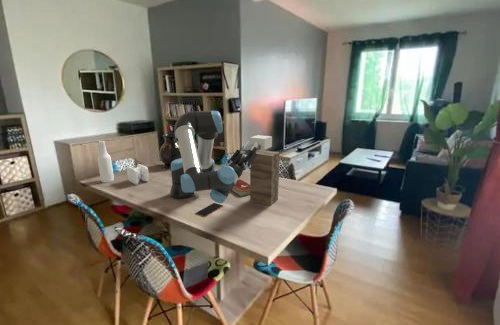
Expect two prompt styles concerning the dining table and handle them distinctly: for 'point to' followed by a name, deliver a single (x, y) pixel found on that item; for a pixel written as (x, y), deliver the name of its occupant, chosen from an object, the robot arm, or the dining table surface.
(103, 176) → the alcohol
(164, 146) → the amphora vase
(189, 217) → the dining table surface
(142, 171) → the cable organizer
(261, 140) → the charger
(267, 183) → the stand
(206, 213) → the smartphone
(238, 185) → the hardcover book
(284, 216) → the dining table surface
